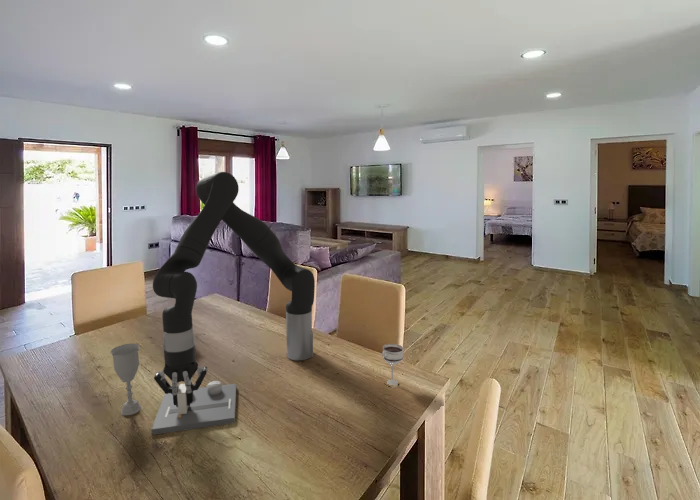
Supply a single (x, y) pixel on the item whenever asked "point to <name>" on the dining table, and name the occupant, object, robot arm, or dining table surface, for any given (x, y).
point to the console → (198, 409)
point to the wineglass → (392, 358)
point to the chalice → (127, 372)
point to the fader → (182, 399)
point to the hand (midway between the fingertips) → (183, 404)
